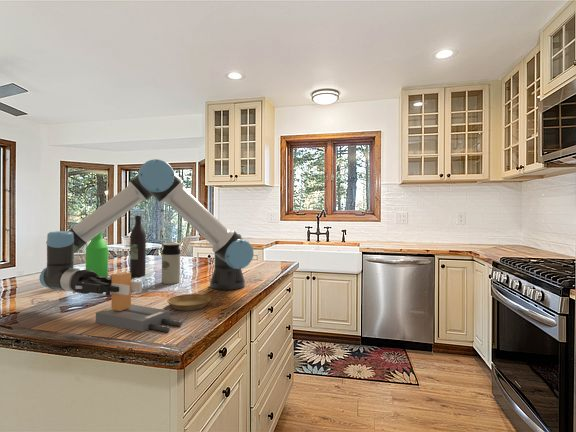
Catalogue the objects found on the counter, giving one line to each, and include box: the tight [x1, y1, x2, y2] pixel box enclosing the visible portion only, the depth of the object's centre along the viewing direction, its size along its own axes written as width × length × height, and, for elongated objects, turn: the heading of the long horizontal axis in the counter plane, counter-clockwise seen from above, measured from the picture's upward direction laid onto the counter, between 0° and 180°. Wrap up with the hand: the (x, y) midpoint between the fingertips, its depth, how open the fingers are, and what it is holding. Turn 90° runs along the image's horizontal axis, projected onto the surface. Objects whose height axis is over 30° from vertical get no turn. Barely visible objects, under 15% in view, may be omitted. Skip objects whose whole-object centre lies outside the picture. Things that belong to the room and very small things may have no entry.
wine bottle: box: [129, 215, 147, 278], centre depth 171 cm, size 7×7×30 cm
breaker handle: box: [110, 271, 132, 311], centre depth 105 cm, size 4×4×11 cm
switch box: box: [95, 303, 183, 333], centre depth 102 cm, size 25×11×3 cm, turn 68°
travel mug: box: [161, 242, 181, 285], centre depth 158 cm, size 8×8×18 cm
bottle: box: [85, 231, 109, 277], centre depth 156 cm, size 9×9×25 cm
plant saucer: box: [166, 293, 212, 311], centre depth 121 cm, size 15×15×3 cm
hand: (134, 288), depth 103 cm, fingers closed on breaker handle, 4 cm apart
